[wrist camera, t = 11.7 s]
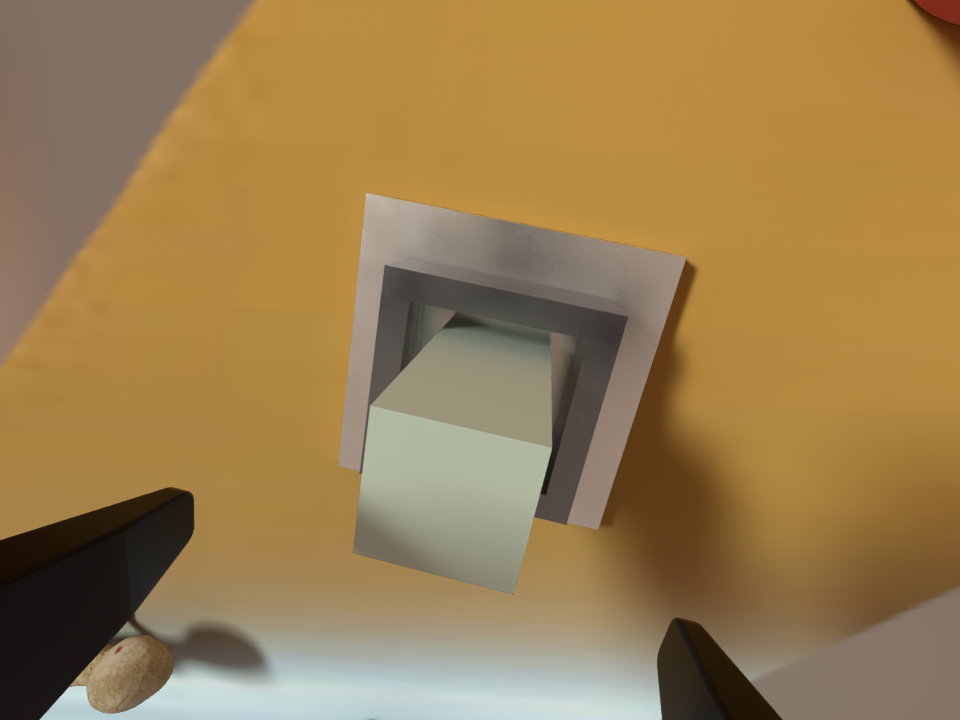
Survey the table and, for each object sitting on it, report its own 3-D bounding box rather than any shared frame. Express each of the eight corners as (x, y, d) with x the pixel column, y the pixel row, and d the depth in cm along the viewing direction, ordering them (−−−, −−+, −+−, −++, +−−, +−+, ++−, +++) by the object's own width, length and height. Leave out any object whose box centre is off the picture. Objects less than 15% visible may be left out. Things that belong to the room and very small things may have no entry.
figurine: (86, 649, 32) (216, 650, 26) (6, 716, 28) (134, 739, 22) (55, 607, 32) (180, 598, 25) (-32, 670, 28) (88, 679, 21)
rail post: (528, 429, 20) (513, 594, 11) (436, 408, 20) (352, 553, 11) (550, 339, 18) (552, 447, 10) (451, 318, 19) (370, 405, 10)
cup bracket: (596, 519, 21) (605, 580, 18) (345, 457, 22) (306, 504, 19) (680, 255, 18) (714, 266, 14) (373, 193, 18) (331, 189, 15)
